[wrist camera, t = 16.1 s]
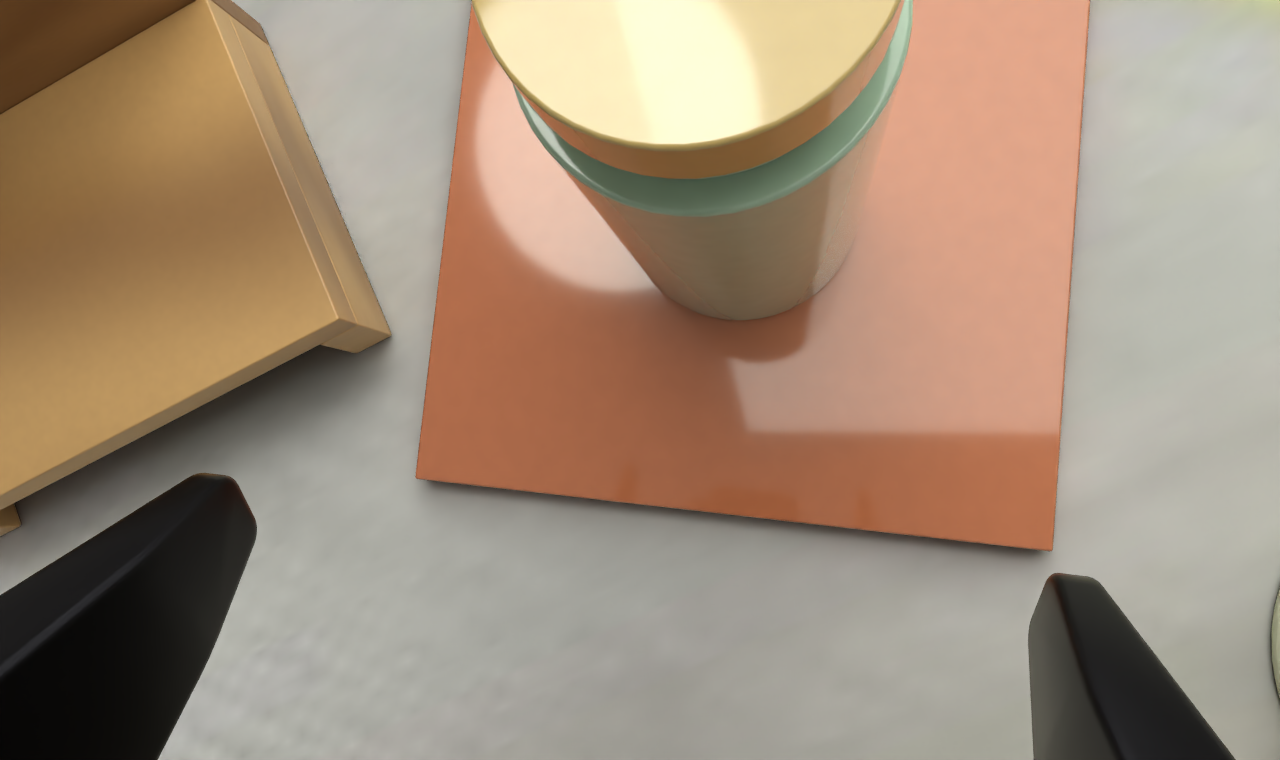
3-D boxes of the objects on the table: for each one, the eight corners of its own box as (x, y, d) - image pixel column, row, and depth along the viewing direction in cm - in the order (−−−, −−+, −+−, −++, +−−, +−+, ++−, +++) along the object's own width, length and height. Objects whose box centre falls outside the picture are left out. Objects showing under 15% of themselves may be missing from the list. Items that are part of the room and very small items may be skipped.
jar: (680, 358, 23) (553, 248, 11) (591, 154, 24) (383, -159, 12) (902, 259, 22) (1031, 23, 10) (801, 52, 23) (809, -394, 11)
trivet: (1044, 548, 22) (1053, 551, 21) (426, 478, 24) (414, 478, 24) (1087, -82, 23) (1097, -101, 22) (492, -79, 26) (482, -96, 25)
